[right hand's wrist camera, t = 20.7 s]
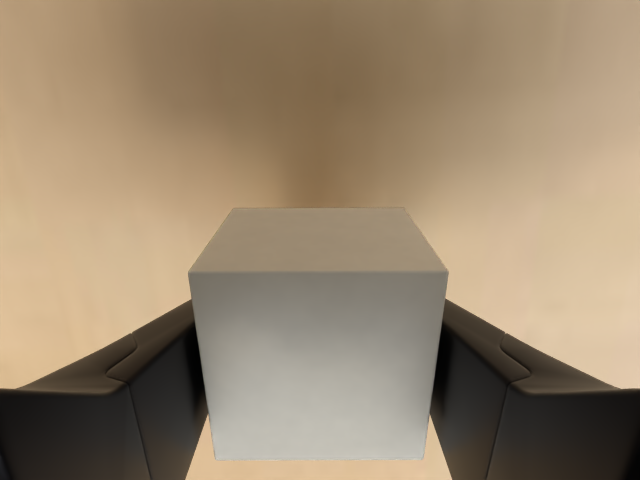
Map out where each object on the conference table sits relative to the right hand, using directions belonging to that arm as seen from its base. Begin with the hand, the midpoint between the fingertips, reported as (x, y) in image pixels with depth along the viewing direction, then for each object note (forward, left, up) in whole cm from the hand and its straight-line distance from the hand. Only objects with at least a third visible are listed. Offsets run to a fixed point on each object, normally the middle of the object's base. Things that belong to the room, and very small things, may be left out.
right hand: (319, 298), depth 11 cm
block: (0, 0, -1) cm, 1 cm away
